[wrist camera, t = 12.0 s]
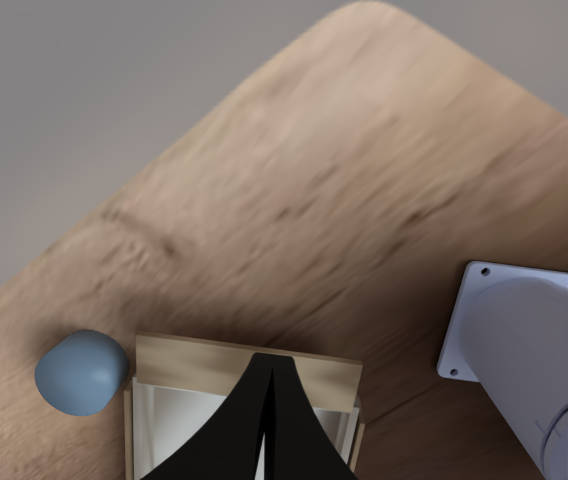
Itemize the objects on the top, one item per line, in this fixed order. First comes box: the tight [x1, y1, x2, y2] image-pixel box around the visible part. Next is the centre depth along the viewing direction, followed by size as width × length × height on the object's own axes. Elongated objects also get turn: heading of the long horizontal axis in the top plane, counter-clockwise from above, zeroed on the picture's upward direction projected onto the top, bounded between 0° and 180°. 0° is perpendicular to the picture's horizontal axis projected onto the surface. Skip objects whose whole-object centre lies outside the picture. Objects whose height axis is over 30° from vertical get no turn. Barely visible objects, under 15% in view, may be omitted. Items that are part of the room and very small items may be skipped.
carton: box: [124, 371, 365, 480], centre depth 25 cm, size 15×13×3 cm
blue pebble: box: [35, 330, 129, 416], centre depth 24 cm, size 5×5×2 cm
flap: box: [135, 331, 363, 412], centre depth 21 cm, size 13×1×3 cm
